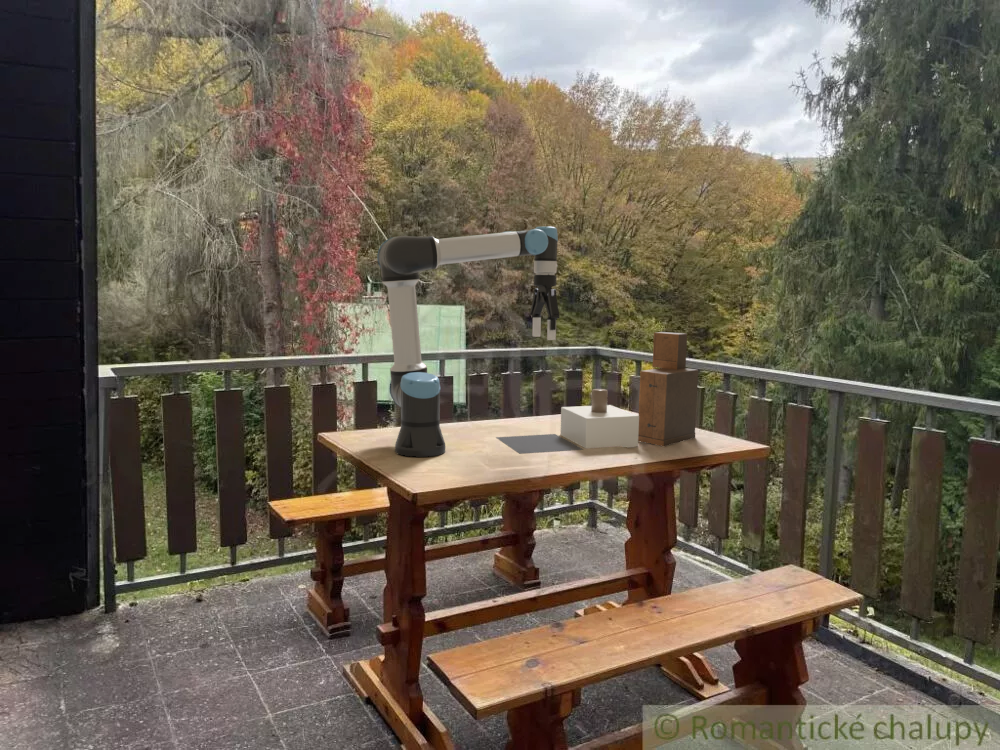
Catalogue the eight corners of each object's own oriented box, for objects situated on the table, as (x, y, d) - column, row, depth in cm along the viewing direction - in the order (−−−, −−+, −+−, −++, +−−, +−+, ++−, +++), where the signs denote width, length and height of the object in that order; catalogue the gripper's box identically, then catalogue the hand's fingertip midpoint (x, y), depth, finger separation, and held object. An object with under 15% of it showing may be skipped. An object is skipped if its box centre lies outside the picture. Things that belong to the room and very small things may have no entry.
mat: (519, 455, 219) (519, 453, 219) (495, 439, 241) (495, 437, 241) (583, 451, 226) (583, 449, 226) (554, 435, 247) (555, 433, 247)
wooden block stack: (659, 431, 257) (663, 331, 253) (695, 438, 247) (700, 334, 243) (627, 439, 244) (631, 334, 239) (663, 446, 234) (668, 337, 229)
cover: (585, 450, 227) (587, 396, 225) (560, 436, 246) (561, 386, 244) (637, 446, 233) (640, 394, 231) (609, 433, 252) (611, 384, 250)
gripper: (570, 274, 232) (569, 341, 235) (541, 274, 255) (540, 335, 258) (548, 274, 229) (547, 341, 232) (521, 274, 253) (520, 335, 256)
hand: (543, 338), depth 245 cm, fingers open, 13 cm apart
